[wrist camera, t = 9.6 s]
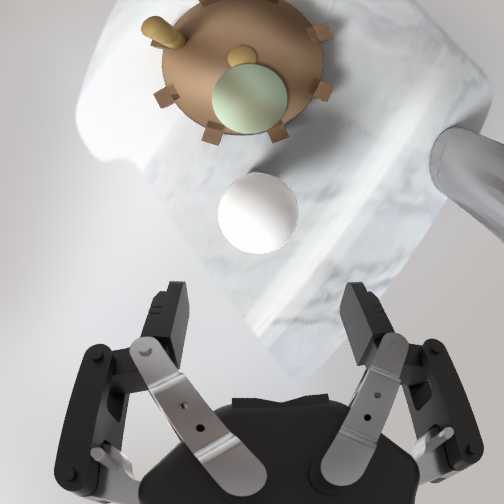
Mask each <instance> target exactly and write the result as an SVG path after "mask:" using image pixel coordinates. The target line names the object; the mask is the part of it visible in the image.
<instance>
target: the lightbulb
mask: <svg viewBox="0 0 504 504" xmlns="http://www.w3.org/2000/svg"><path fill="white" fill-rule="evenodd" d="M218 220H219V225H220V228H221V230H222V232H223V234H224V235H225V237H226V238H227V239H228V241H229V242H230V243H231V244H233V245H234V246H235V247H237V248H238V249H240V250H243V251H245V252H248V253H254V254H263V253H269V252H272V251H275V250H277V249H279V248H280V247H282V246H283V245H284V244H286V243H287V242H288V241H289V239H290V238H291V237H292V235H293V234H294V232H295V230H296V227H297V224H298V220H299V207H298V202H297V199H296V197H295V195H294V193H293V191H292V190H291V189H290V187H289V186H288V185H287V184H286V183H285V182H283V181H282V180H281V179H279V178H277V177H275V176H273V175H270V174H265V173H261V172H250V173H248V174H247V175H244V176H242V177H240V178H238V179H236V180H235V181H233V182H232V183H231V184H230V185H229V186H228V187H227V188H226V190H225V191H224V193H223V195H222V197H221V199H220V202H219V206H218Z"/></svg>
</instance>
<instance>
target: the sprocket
mask: <svg viewBox="0 0 504 504" xmlns="http://www.w3.org/2000/svg"><path fill="white" fill-rule="evenodd" d="M199 2H200V3H199V4H197V5H196V6H194V7H193V8H191V9H190V10H189V11H188V12H186V13H185V14H184V15H183V16H182V17H181V18H180V19H179V20H178V22H177V23H176V24H175V26H174V27H172V26H171V25H170V24H169V23H168V22H166V21H165V20H164V19H162V18H161V17H159V16H152V17H149V18H148V19H146V20H145V21H144V22H143V24H142V27H141V31H142V33H143V34H144V35H145V36H147V37H149V38H151V39H153V40H152V42H151V46H153V47H155V48H159V49H164V50H163V56H162V72H163V78H164V81H165V85H166V87H165V88H163V89H161V90H160V91H158V92H156V93H155V94H153V95H154V96H155V98H156V100H157V102H158V104H159V106H160V108H165V107H168V106H170V105H171V104H173V103H176V104H177V106H178V107H179V108H180V109H181V110H182V111H183V112H184V113H185V114H186V115H187V116H189V117H190V118H192V119H193V120H195V121H196V122H198V123H200V124H202V125H204V126H206V129H205V132H204V135H203V138H202V140H201V141H205V142H208V143H211V144H214V145H219V143H220V141H221V138H222V135H223V133H224V132H226V133H233V134H255V133H260V132H263V131H266V130H267V132H268V134H269V137H270V139H271V141H272V143H275V142H278V141H280V140H283V139H285V138H288V137H289V135H288V133H287V130H286V128H285V126H284V123H286V122H287V121H289V120H290V119H292V118H293V117H295V116H296V115H297V114H298V113H299V112H301V111H302V110H303V109H304V108H305V106H306V105H307V104H308V103H309V102H310V100H311V99H312V97H315V98H317V99H319V100H321V101H326V102H327V101H328V99H329V97H330V95H331V92H332V90H333V88H334V87H333V86H331V85H329V84H327V83H325V82H323V81H321V76H322V71H323V53H322V48H321V44H320V43H322V42H325V41H328V40H330V39H332V38H333V37H332V35H331V32H330V30H329V28H328V26H327V24H326V23H324V24H320V25H316V26H312V25H311V24H310V23H309V21H308V20H307V19H306V18H305V17H304V16H303V15H302V14H301V13H300V12H299V11H298V10H297V9H295V8H294V7H292V6H291V5H290V4H288V3H286V2H284V1H282V0H199Z"/></svg>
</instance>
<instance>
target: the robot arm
mask: <svg viewBox="0 0 504 504" xmlns="http://www.w3.org/2000/svg"><path fill="white" fill-rule="evenodd" d="M430 173H431V178H432V180H433V183H434V185H435V186H436V188H437V189H438V190H439V191H440V192H442V193H443V194H444V195H446V196H447V197H448V198H450V199H451V200H453V201H454V202H455V203H457V204H458V205H459V206H460V207H462V208H463V209H464V210H465V211H467V212H468V213H469V214H470V215H472V216H473V217H474V218H475V219H477V220H478V221H479V222H480V223H481V224H483V225H484V226H485V227H486V228H488V229H489V230H490V231H491V232H492V233H493V234H494V235H495V236H497V237H498V238H499V239H500V240H501V241H502V242H503V243H504V144H501V143H499V142H497V141H494V140H492V139H489V138H487V137H485V136H482V135H480V134H477V133H475V132H472V131H469V130H466V129H463V128H460V127H453V128H449V129H447V130H446V131H444V132H443V133H442V134H441V135H440V136H439V137H438V139H437V140H436V142H435V144H434V146H433V148H432V152H431V156H430ZM148 313H149V314H148V315H147V318H146V321H145V324H144V327H143V330H142V333H141V337H140V338H138V339H137V340H135V341H134V342H133V343H132V344H131V346H130V347H129V348H126V349H120V350H114V351H111V349H110V348H109V347H108V346H106V345H104V344H97V345H94V346H91V347H90V348H89V349H88V350H87V351H86V352H85V354H84V357H83V360H82V363H81V366H80V369H79V372H78V375H77V378H76V381H75V384H74V388H73V391H72V395H71V398H70V401H69V405H68V409H67V412H66V416H65V420H64V424H63V429H62V433H61V437H60V441H59V447H58V451H57V456H56V461H55V467H54V476H55V479H56V481H57V482H58V484H59V485H60V486H61V487H63V488H64V489H66V490H68V491H70V492H72V493H74V494H76V495H78V496H80V497H83V498H86V499H88V500H91V501H96V502H99V503H104V504H107V503H111V502H113V503H117V504H415V496H416V492H417V489H418V486H419V485H422V484H425V483H427V482H431V483H438V482H441V481H443V480H445V479H447V478H449V477H451V476H453V475H455V474H457V473H458V472H460V471H462V470H464V469H466V468H467V467H469V466H471V465H473V464H474V463H476V462H477V461H479V460H480V458H481V457H482V455H483V451H484V445H483V442H482V438H481V435H480V432H479V429H478V426H477V423H476V420H475V417H474V414H473V412H472V409H471V406H470V403H469V401H468V398H467V396H466V393H465V391H464V388H463V386H462V383H461V381H460V378H459V376H458V374H457V372H456V369H455V367H454V365H453V363H452V360H451V358H450V356H449V354H448V352H447V350H446V348H445V346H444V345H443V344H442V343H441V342H440V341H438V340H436V339H428V340H426V341H425V342H424V344H423V345H414V344H409V343H408V342H407V340H406V339H405V337H403V336H402V335H400V334H398V333H395V332H394V329H393V327H392V325H391V323H390V321H389V319H388V317H387V315H386V313H385V312H384V309H383V307H382V306H381V303H380V301H379V299H378V298H377V297H376V296H375V295H374V294H373V293H372V292H367V290H366V288H365V286H364V284H363V283H362V282H348V283H347V284H346V287H345V291H344V294H343V298H342V301H341V305H340V316H341V319H342V322H343V324H344V327H345V330H346V333H347V336H348V339H349V342H350V345H351V348H352V351H353V354H354V357H355V360H356V363H357V366H360V365H365V366H366V370H365V372H364V374H363V376H362V379H361V380H360V382H359V384H358V386H357V388H356V390H355V392H354V394H353V396H352V398H351V400H350V401H349V403H348V405H347V406H346V405H344V404H342V403H339V402H336V401H332V400H329V397H328V394H320V395H309V396H303V397H300V398H297V399H293V400H290V401H286V402H282V403H280V402H273V401H268V400H263V399H258V398H232V404H231V405H227V406H223V407H221V408H219V409H216V410H215V411H212V410H211V408H210V407H209V406H208V405H207V403H206V402H205V401H204V399H203V398H202V397H201V396H200V394H199V393H198V392H197V390H196V389H195V388H194V387H193V385H192V384H191V383H190V381H189V380H188V379H187V377H186V376H185V375H184V374H183V373H180V372H179V371H178V369H180V363H181V358H182V352H183V346H184V340H185V335H186V329H187V324H188V319H189V301H188V295H187V288H186V283H185V282H178V281H176V282H175V281H170V282H169V285H168V289H167V292H165V291H160V292H159V293H158V294H157V295H156V296H155V297H154V298H153V301H152V304H151V308H150V309H149V312H148ZM429 383H430V384H429ZM400 385H402V387H403V390H404V393H405V397H406V400H407V404H408V407H409V411H410V414H411V418H412V422H413V425H414V429H415V433H416V437H417V441H416V442H415V444H414V447H413V454H412V456H411V455H410V454H408V453H407V452H406V451H404V450H403V449H402V448H400V447H399V446H398V445H396V444H395V443H393V442H392V441H391V440H390V439H389V438H387V437H386V436H385V435H383V434H382V433H381V432H382V429H383V427H384V425H385V422H386V420H387V418H388V415H389V413H390V410H391V408H392V405H393V402H394V399H395V397H396V394H397V391H398V388H399V386H400ZM430 386H431V387H430ZM431 389H432V390H431ZM146 390H148V391H149V393H150V394H151V396H152V398H153V400H154V401H155V403H156V405H157V406H158V408H159V409H160V411H161V413H162V414H163V416H164V417H165V419H166V421H167V422H168V424H169V425H170V427H171V428H172V430H173V431H174V433H175V434H176V436H177V437H178V439H179V440H180V441H181V442H180V443H179V444H178V445H177V446H176V447H175V448H174V449H173V450H172V451H171V452H170V453H169V454H168V455H166V456H165V457H164V458H163V459H162V460H161V461H160V462H159V463H158V464H157V465H156V466H154V467H153V468H152V469H151V470H150V471H149V472H148V473H147V474H146V475H145V476H144V477H143V479H142V480H141V482H140V481H137V480H136V478H135V477H134V475H133V470H132V464H131V462H130V460H129V459H128V458H127V457H126V456H125V455H124V454H122V453H121V447H122V439H123V432H124V426H125V418H126V413H127V407H128V401H129V395H130V393H134V392H140V391H146Z"/></svg>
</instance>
